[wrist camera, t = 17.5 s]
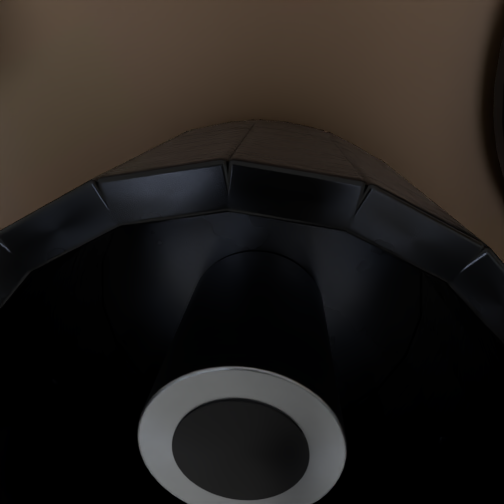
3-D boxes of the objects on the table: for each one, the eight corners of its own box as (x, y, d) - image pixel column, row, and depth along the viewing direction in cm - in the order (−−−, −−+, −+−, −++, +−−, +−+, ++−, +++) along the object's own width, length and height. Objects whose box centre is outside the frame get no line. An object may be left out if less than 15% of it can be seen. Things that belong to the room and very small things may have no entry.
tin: (514, 310, 12) (712, 507, 6) (258, 471, 16) (243, 685, 10) (257, 19, 9) (220, -72, 4) (24, 293, 13) (-167, 449, 7)
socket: (351, 314, 12) (393, 463, 7) (257, 383, 13) (242, 547, 8) (257, 222, 11) (236, 328, 6) (166, 307, 12) (93, 445, 8)
